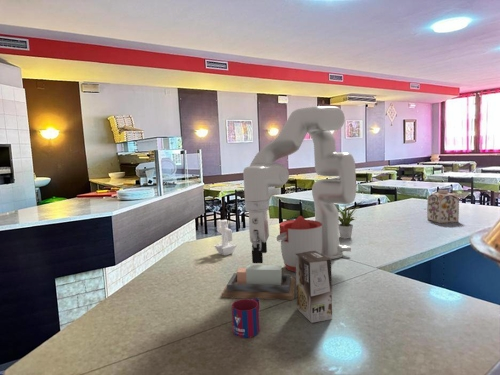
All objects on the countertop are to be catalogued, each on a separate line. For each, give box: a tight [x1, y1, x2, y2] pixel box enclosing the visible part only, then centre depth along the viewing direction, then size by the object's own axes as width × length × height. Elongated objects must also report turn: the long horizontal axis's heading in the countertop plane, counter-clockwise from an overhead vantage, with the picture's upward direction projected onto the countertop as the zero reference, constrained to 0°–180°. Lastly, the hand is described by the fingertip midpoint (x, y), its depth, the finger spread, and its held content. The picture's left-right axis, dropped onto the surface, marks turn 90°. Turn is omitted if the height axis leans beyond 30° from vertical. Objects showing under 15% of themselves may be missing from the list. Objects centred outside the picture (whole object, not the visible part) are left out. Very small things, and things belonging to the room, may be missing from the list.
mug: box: [231, 298, 261, 339], centre depth 85 cm, size 7×10×7 cm
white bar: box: [236, 264, 283, 285], centre depth 109 cm, size 14×4×6 cm, turn 80°
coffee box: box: [295, 251, 333, 324], centre depth 90 cm, size 9×6×16 cm
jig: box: [221, 272, 296, 301], centre depth 109 cm, size 22×14×3 cm, turn 80°
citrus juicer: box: [276, 215, 322, 273], centre depth 125 cm, size 16×17×20 cm
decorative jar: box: [426, 189, 460, 224], centre depth 193 cm, size 12×12×18 cm
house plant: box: [336, 205, 360, 239], centre depth 167 cm, size 14×14×16 cm
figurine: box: [213, 219, 237, 256], centre depth 148 cm, size 7×9×15 cm
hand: (260, 257), depth 108 cm, fingers open, 9 cm apart
